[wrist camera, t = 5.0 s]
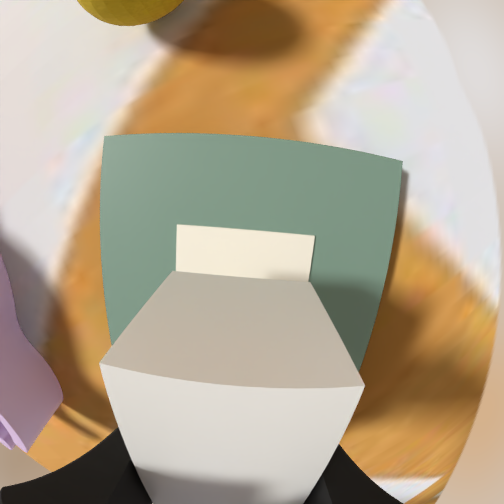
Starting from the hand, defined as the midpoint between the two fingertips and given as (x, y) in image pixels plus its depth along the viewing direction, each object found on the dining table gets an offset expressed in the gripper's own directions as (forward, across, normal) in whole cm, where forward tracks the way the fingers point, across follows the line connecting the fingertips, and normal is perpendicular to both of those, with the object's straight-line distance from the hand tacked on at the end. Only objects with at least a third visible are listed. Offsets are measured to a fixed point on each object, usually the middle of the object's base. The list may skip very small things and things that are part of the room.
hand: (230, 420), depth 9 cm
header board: (+6, 0, 0) cm, 6 cm away
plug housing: (+1, 0, +2) cm, 2 cm away
